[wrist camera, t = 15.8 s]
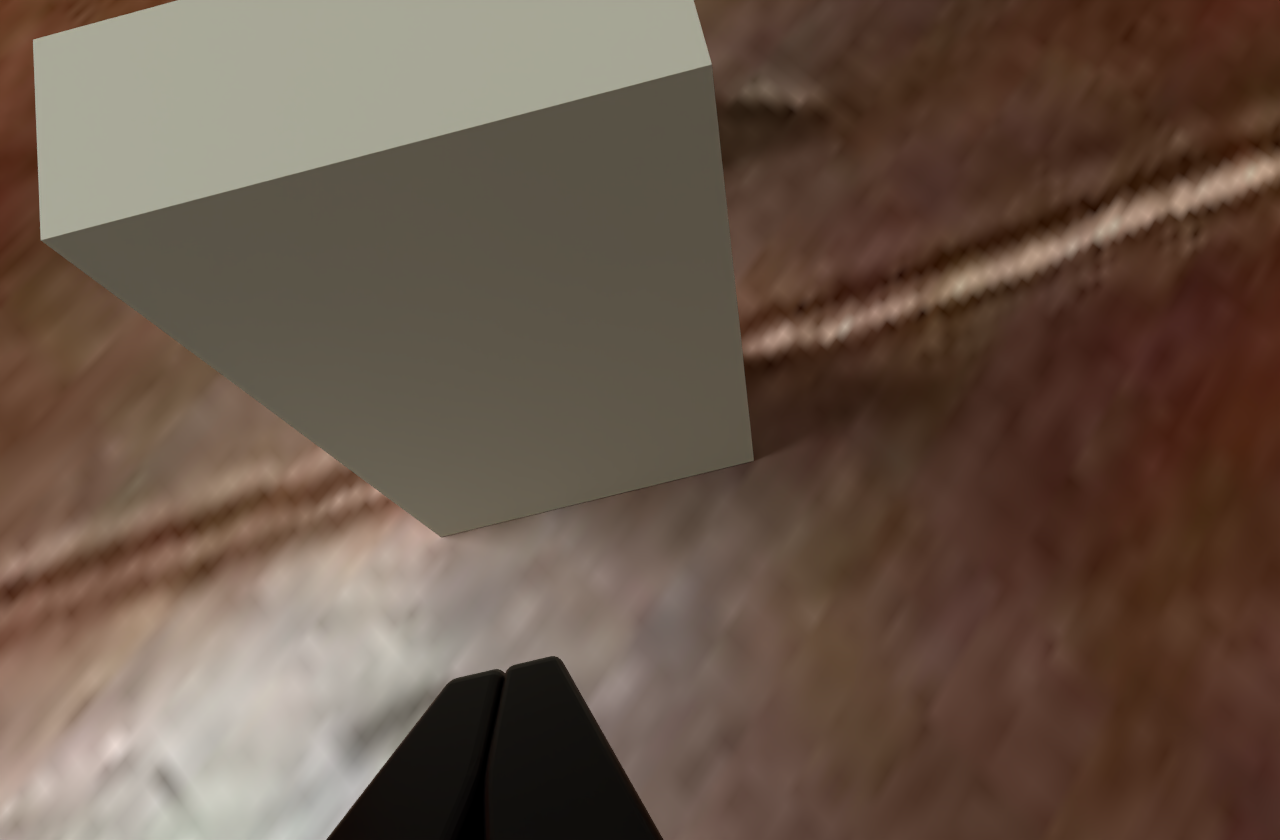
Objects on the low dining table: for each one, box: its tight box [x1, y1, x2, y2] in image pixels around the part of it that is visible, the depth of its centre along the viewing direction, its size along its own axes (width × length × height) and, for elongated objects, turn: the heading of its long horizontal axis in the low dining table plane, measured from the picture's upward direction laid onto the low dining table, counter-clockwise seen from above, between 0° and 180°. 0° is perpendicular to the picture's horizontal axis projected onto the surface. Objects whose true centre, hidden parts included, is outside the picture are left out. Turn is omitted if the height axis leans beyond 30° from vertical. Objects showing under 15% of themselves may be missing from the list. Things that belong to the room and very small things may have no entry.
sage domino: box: [33, 0, 754, 537], centre depth 13 cm, size 2×5×10 cm, turn 102°
